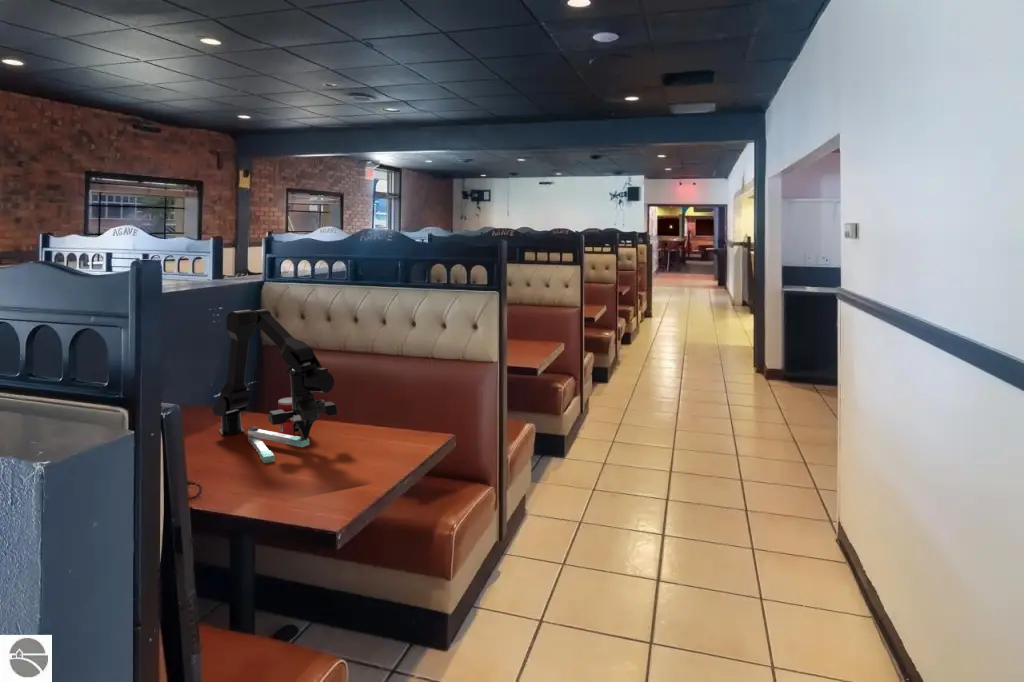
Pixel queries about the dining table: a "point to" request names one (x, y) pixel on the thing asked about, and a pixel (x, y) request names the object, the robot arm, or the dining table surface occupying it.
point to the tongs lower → (262, 450)
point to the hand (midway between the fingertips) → (305, 441)
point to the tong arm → (278, 437)
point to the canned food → (288, 426)
